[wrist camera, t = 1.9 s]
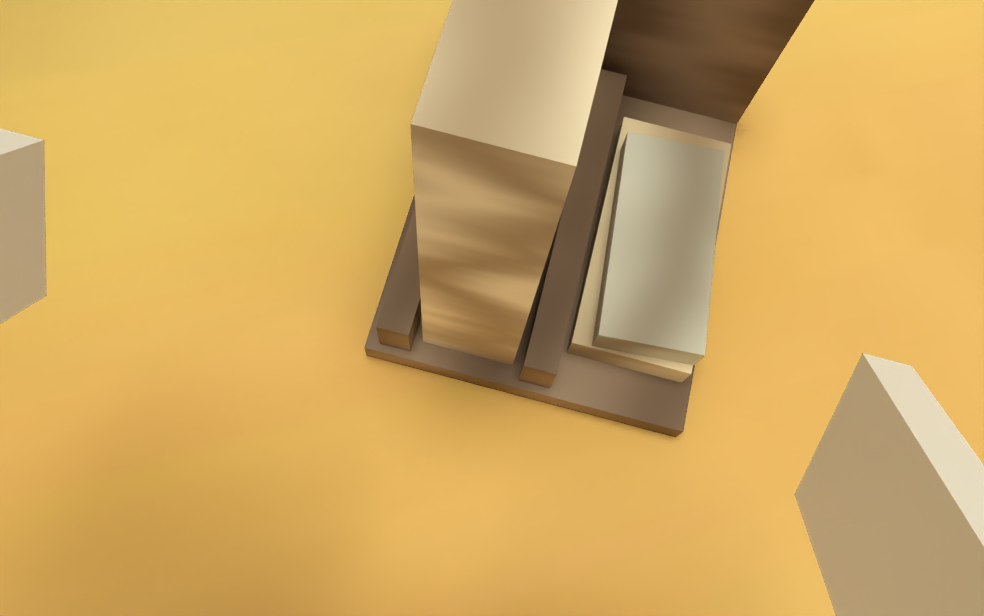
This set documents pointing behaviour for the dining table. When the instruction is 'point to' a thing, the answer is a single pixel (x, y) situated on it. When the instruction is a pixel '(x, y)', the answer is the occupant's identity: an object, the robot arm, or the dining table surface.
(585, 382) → the walnut rack
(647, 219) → the offcut stack
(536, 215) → the birch board
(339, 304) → the dining table surface
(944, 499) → the robot arm
